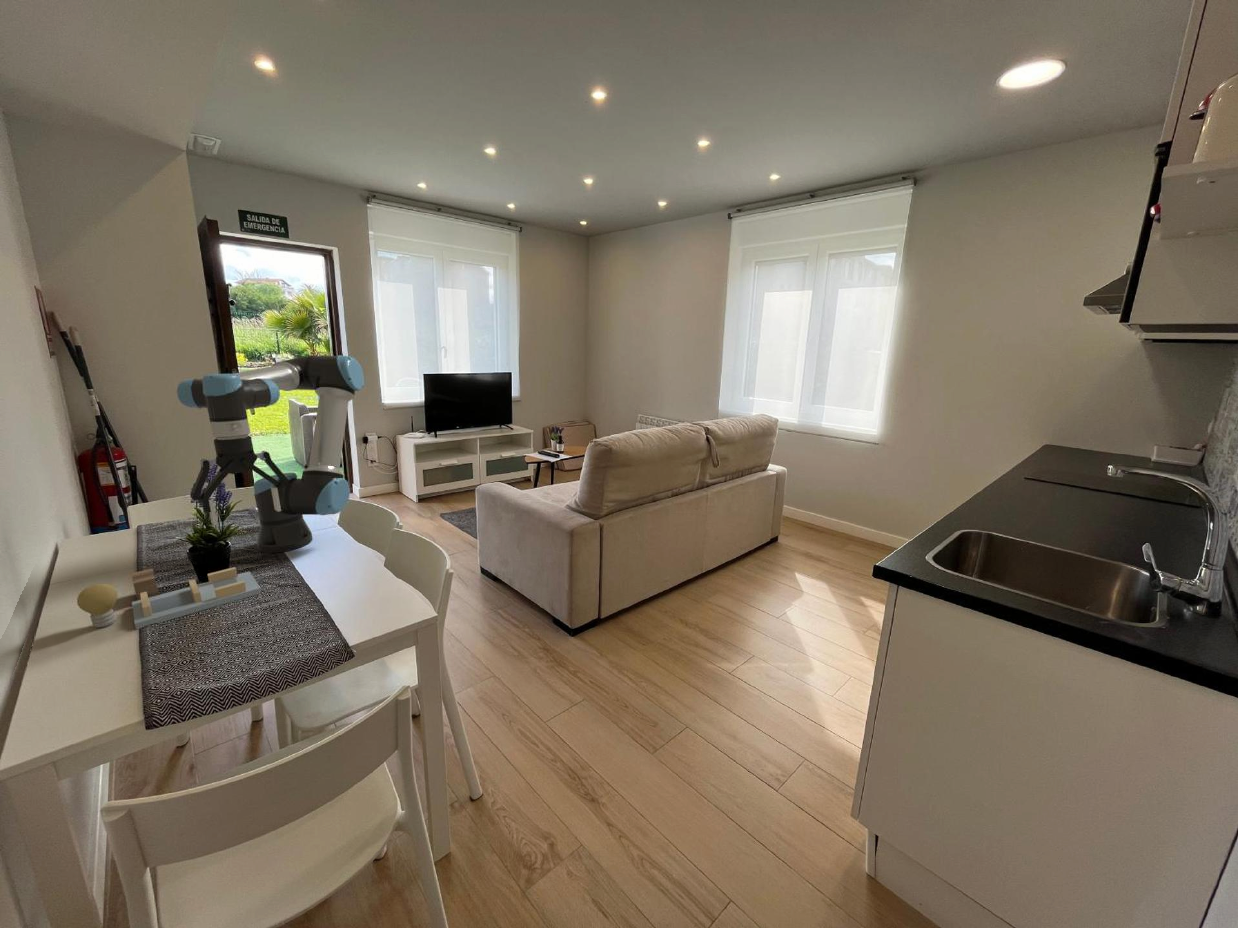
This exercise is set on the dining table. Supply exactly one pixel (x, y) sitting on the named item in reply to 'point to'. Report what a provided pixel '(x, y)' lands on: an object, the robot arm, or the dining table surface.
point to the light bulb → (98, 603)
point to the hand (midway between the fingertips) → (247, 516)
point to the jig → (195, 597)
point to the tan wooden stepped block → (145, 583)
